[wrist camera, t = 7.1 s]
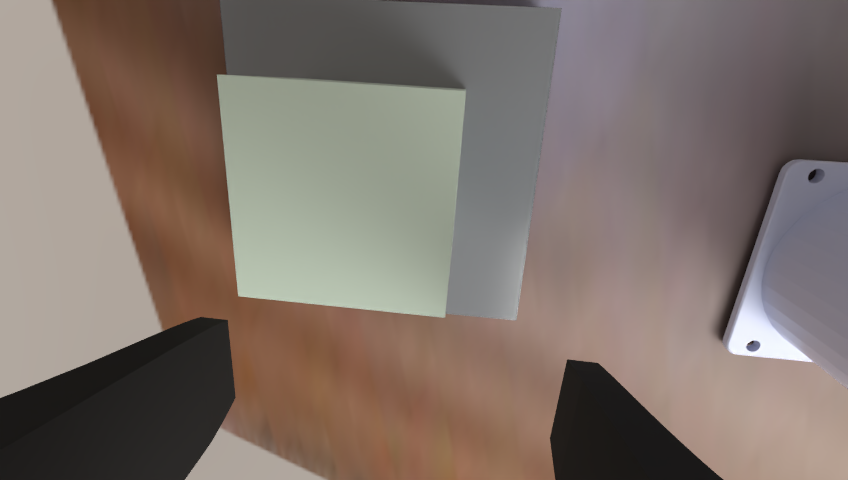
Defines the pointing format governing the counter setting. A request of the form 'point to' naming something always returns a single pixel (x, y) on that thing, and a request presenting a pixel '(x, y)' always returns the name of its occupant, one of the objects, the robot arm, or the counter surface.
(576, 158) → the counter surface
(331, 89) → the green block
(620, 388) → the robot arm
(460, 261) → the stone base
